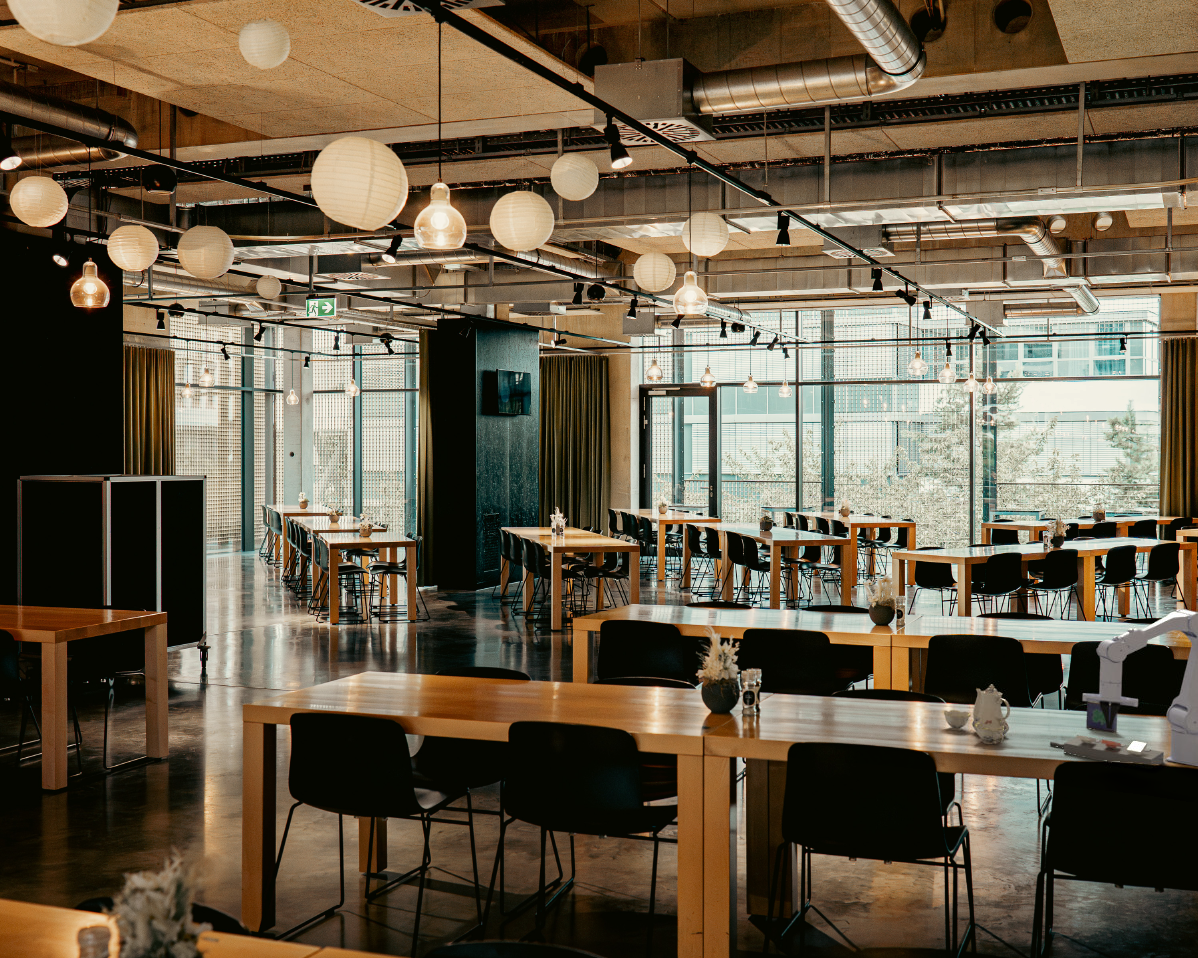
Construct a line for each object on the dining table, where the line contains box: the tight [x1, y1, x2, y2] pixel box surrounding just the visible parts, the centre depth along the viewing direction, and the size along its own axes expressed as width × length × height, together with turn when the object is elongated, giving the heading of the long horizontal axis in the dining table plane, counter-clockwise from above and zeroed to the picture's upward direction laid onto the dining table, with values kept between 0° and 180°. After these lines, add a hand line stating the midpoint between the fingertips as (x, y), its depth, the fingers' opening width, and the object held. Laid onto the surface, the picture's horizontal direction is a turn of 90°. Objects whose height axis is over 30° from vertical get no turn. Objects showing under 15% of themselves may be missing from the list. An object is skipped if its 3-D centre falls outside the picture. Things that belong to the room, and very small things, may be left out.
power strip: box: [1049, 736, 1165, 765], centre depth 319 cm, size 30×12×3 cm, turn 47°
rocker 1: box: [1076, 734, 1097, 743], centre depth 320 cm, size 4×6×2 cm, turn 138°
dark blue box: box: [1085, 700, 1118, 733], centre depth 351 cm, size 9×3×11 cm, turn 51°
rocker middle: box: [1101, 739, 1122, 748], centre depth 315 cm, size 4×6×2 cm, turn 138°
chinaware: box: [942, 684, 1011, 745], centre depth 340 cm, size 28×17×17 cm, turn 20°
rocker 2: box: [1127, 740, 1148, 755], centre depth 311 cm, size 4×6×2 cm, turn 137°
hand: (1109, 728), depth 313 cm, fingers closed
